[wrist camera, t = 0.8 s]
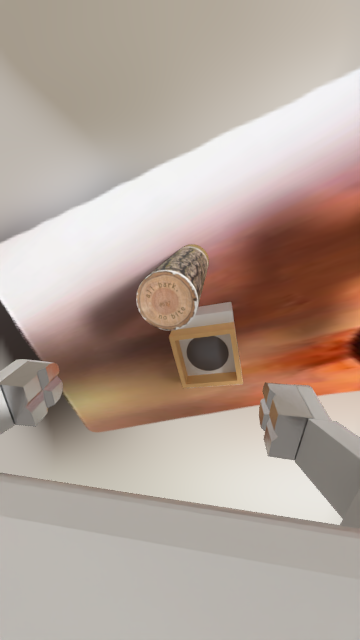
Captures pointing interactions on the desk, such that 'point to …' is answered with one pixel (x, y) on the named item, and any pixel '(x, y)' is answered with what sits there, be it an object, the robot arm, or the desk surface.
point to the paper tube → (174, 289)
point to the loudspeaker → (208, 348)
